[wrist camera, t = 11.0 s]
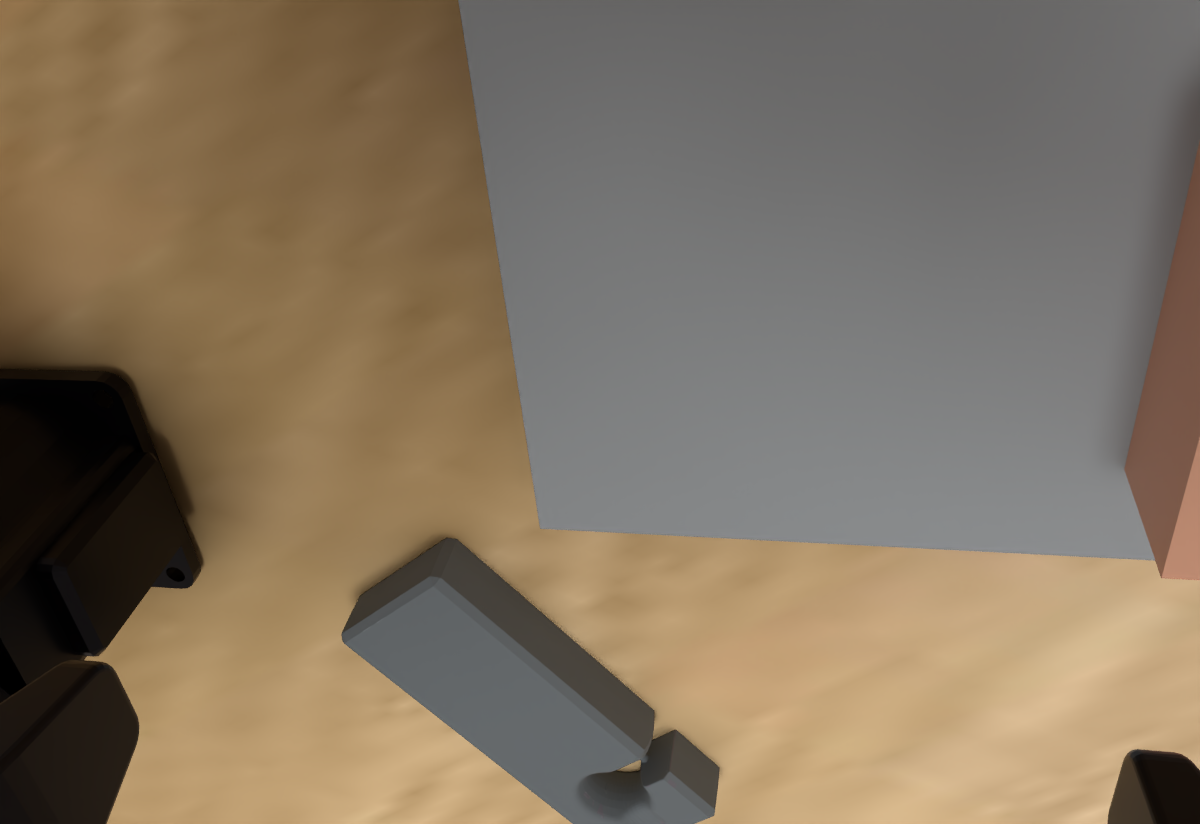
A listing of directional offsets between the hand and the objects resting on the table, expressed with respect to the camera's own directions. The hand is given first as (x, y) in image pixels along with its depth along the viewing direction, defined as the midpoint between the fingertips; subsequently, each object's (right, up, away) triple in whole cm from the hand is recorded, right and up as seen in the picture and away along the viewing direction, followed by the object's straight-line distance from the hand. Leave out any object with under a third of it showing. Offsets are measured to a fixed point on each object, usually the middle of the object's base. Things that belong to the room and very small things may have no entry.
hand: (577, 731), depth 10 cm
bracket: (-1, -4, +20) cm, 21 cm away
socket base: (+8, +6, +10) cm, 14 cm away
